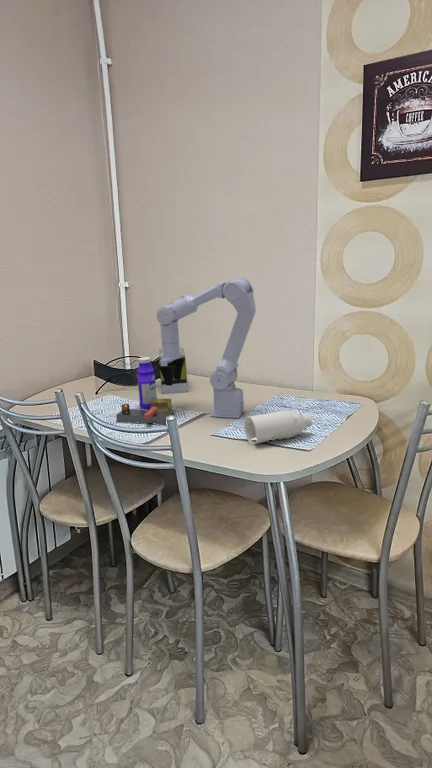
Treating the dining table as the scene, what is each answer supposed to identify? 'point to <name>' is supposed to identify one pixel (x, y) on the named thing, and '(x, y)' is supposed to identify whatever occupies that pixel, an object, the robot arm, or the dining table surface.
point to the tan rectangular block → (162, 404)
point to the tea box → (177, 384)
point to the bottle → (146, 383)
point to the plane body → (141, 415)
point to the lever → (150, 413)
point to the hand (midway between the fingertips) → (173, 382)
